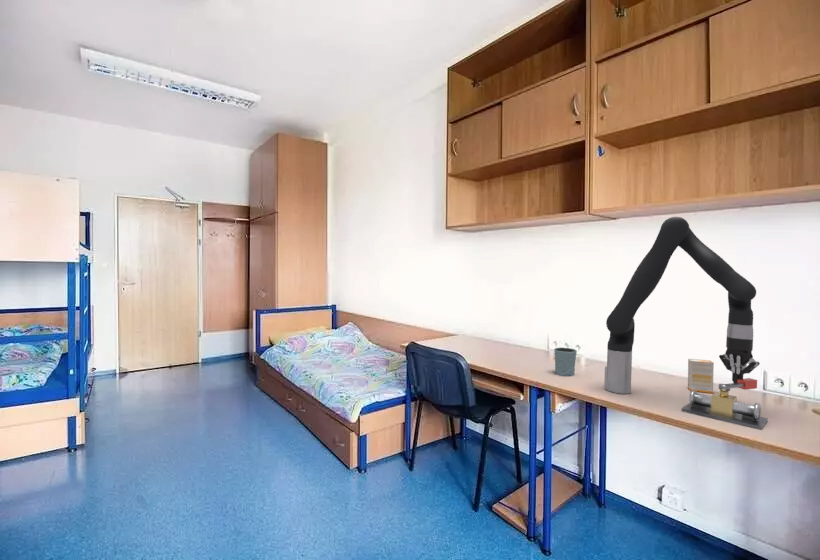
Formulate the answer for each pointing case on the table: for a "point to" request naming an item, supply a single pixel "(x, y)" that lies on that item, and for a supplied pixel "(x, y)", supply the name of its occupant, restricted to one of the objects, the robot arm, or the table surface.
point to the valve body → (725, 409)
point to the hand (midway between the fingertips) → (737, 383)
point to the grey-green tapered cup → (565, 361)
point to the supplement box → (700, 375)
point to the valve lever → (740, 384)
